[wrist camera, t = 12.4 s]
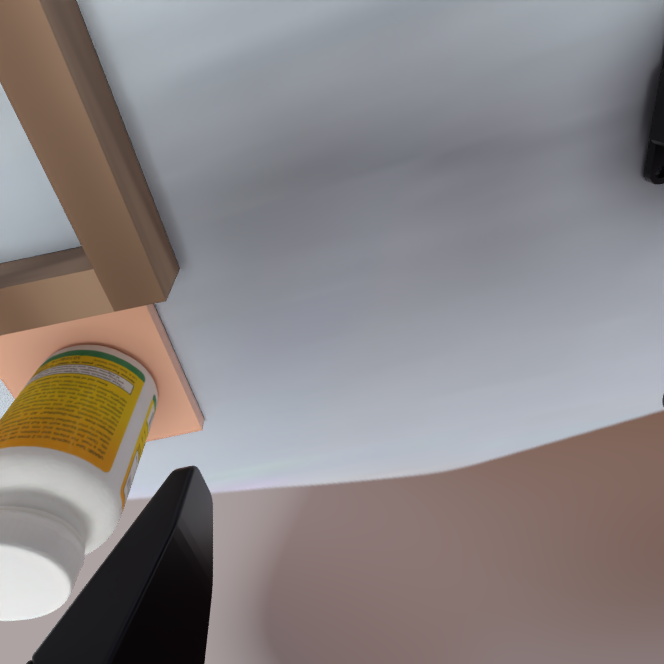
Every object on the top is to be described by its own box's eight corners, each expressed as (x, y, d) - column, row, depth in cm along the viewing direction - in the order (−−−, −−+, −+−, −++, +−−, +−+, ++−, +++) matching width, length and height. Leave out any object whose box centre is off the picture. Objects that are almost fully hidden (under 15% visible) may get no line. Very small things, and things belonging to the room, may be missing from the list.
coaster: (149, 294, 21) (145, 303, 20) (204, 419, 25) (202, 430, 24) (-18, 329, 21) (-28, 339, 20) (64, 448, 25) (58, 459, 24)
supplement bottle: (176, 416, 24) (125, 613, 15) (74, 439, 24) (-30, 648, 16) (129, 327, 21) (36, 513, 13) (13, 355, 21) (-154, 556, 13)
